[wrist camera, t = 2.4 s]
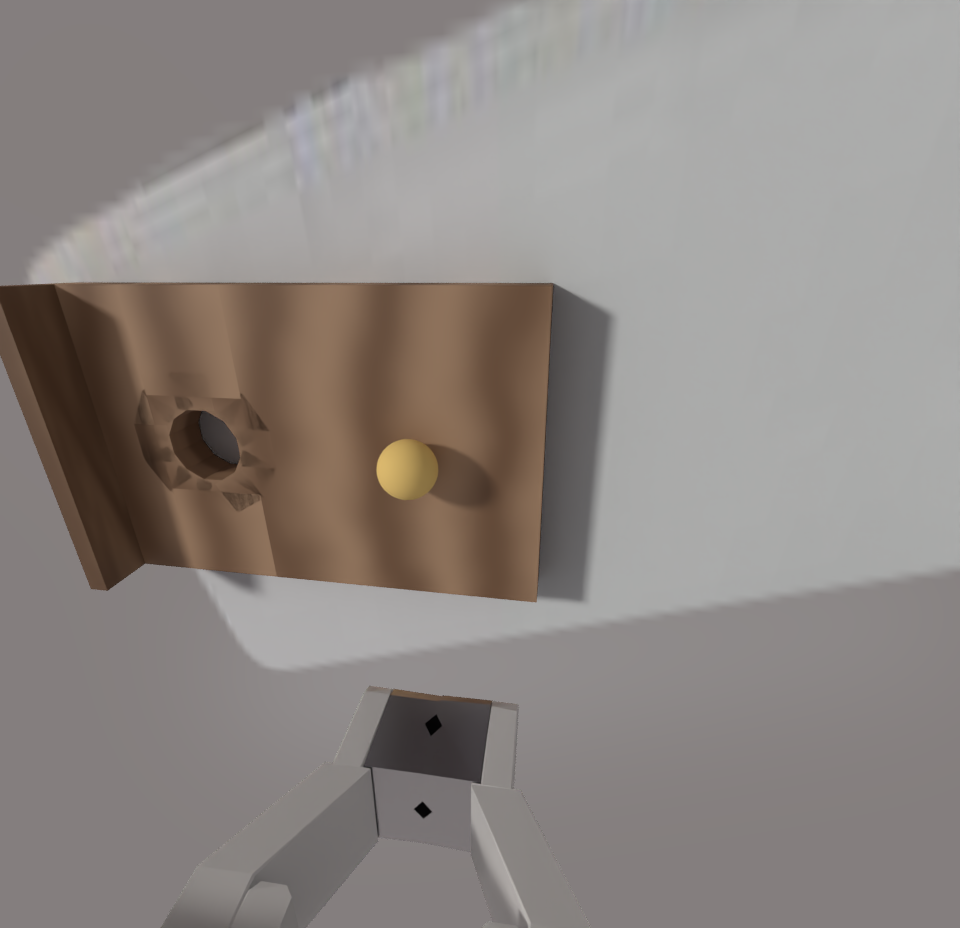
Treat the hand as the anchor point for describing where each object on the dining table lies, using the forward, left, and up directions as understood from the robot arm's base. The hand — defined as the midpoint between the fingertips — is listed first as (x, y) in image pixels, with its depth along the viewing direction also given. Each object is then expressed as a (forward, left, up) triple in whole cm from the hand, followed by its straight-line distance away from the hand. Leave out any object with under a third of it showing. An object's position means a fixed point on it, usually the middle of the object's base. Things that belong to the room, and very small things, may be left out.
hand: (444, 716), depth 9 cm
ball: (+6, +2, -16) cm, 17 cm away
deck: (+13, +2, -20) cm, 23 cm away
